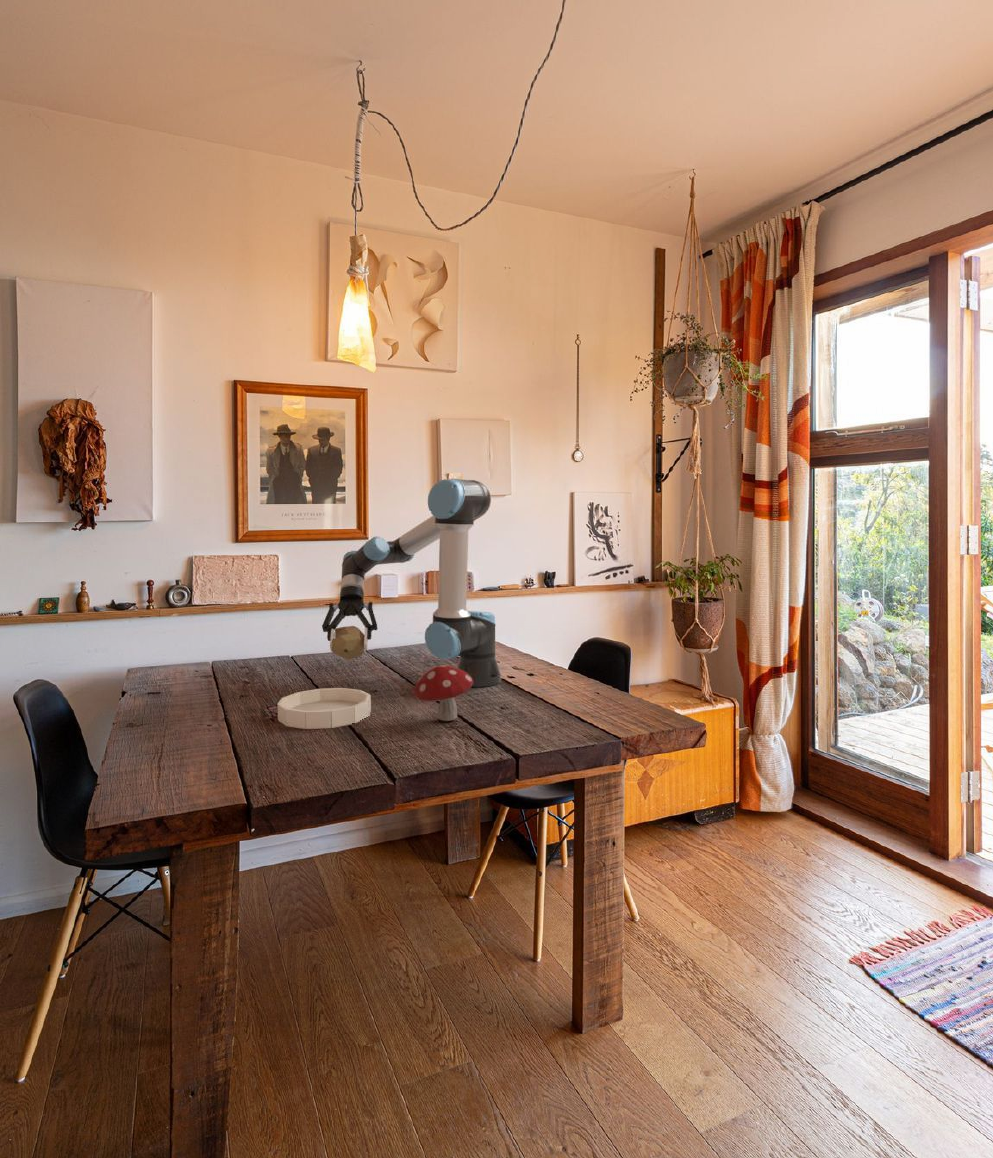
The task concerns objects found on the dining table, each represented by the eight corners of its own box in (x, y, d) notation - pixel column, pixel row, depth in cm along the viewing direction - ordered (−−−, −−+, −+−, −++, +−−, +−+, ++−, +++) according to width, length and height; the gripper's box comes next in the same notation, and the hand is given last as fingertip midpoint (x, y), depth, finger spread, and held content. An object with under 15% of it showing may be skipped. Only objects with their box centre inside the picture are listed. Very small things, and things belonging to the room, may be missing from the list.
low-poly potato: (352, 653, 226) (320, 639, 221) (369, 625, 224) (337, 611, 219) (359, 674, 213) (325, 661, 207) (376, 645, 211) (342, 631, 206)
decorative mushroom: (472, 730, 174) (472, 672, 172) (409, 731, 174) (408, 672, 172) (475, 712, 190) (474, 658, 188) (417, 712, 190) (416, 659, 188)
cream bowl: (373, 701, 202) (373, 686, 201) (366, 726, 178) (365, 709, 177) (289, 704, 199) (288, 689, 199) (270, 730, 175) (269, 713, 175)
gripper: (387, 597, 231) (386, 653, 216) (319, 599, 228) (313, 656, 214) (385, 583, 225) (384, 639, 211) (315, 585, 223) (309, 642, 208)
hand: (348, 647), depth 212 cm, fingers closed on low-poly potato, 10 cm apart
